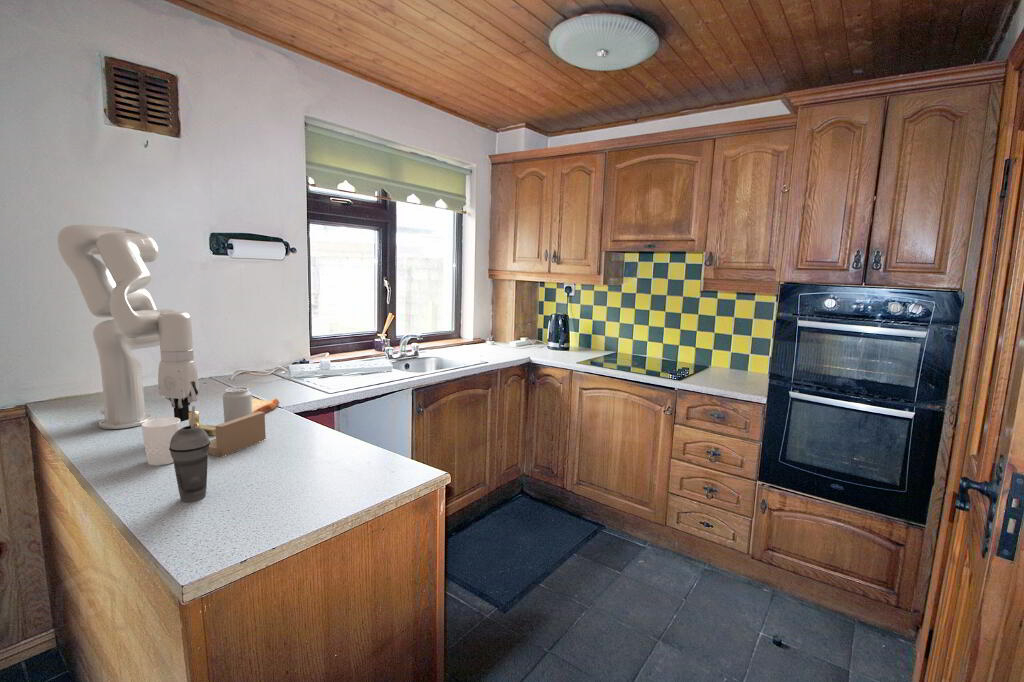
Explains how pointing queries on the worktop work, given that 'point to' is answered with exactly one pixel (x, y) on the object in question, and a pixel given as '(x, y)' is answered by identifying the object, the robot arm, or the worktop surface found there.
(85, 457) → the worktop surface
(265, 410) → the slice of bread
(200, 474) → the beverage cup
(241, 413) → the can
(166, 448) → the white cup
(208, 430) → the bolt
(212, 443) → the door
